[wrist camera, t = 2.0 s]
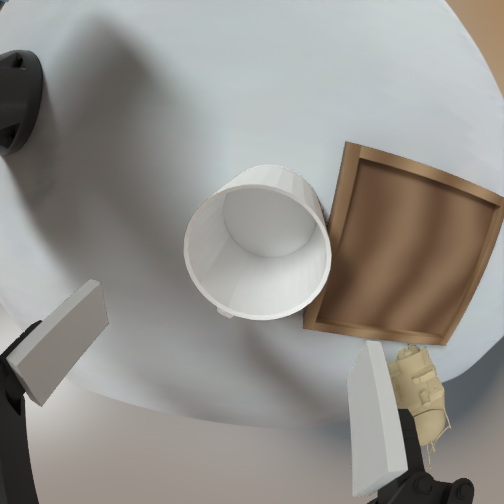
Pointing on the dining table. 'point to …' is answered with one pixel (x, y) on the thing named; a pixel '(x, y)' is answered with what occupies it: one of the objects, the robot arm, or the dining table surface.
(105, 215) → the dining table surface
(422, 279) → the tray
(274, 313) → the mug
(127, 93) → the dining table surface
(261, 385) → the dining table surface
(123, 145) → the dining table surface
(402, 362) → the robot
